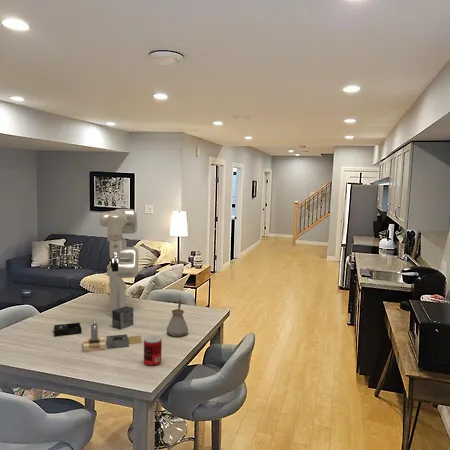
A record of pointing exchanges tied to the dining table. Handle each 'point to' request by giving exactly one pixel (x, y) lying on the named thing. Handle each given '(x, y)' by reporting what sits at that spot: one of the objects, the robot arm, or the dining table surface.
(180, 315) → the coffee pot
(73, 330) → the battery charger
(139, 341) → the yellow rectangular block
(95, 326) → the clear plastic bottle
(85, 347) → the frame
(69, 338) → the dining table surface
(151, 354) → the canned food
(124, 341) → the socket
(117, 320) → the small box
